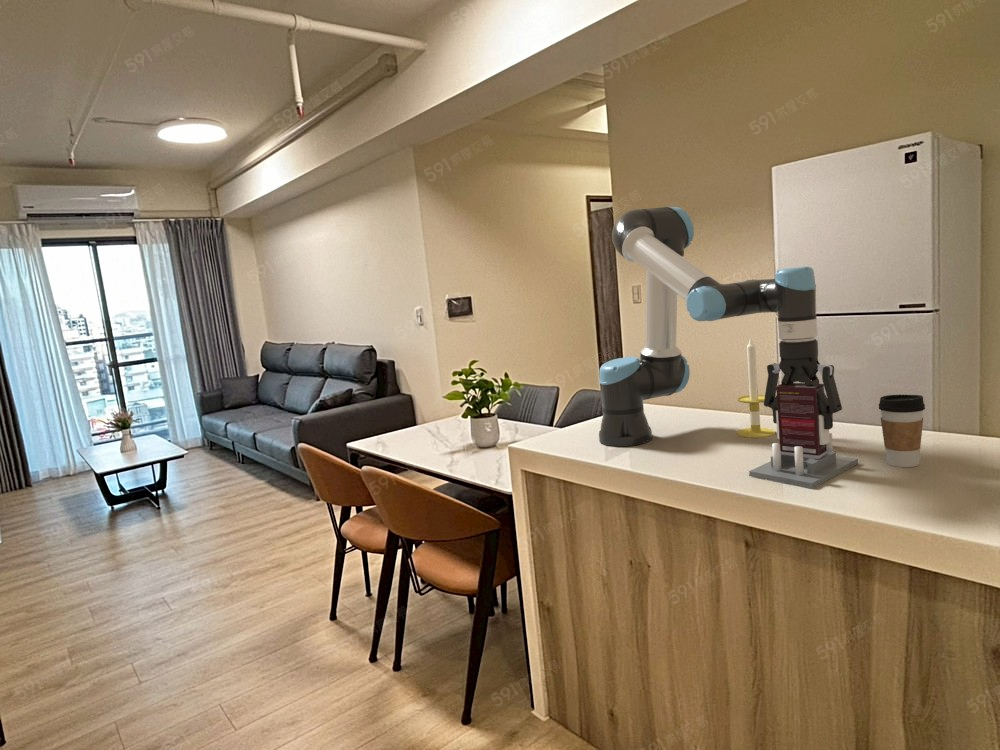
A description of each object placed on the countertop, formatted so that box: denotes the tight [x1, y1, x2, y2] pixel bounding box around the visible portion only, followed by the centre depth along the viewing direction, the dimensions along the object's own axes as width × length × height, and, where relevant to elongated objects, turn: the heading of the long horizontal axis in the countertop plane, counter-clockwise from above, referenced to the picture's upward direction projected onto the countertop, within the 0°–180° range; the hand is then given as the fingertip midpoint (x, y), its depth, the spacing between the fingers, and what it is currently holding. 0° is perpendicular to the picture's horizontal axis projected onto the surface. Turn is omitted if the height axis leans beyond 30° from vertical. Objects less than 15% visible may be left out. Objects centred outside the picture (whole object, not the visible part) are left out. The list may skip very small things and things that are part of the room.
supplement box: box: [776, 382, 827, 459], centre depth 135 cm, size 9×5×16 cm, turn 43°
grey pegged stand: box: [748, 432, 859, 490], centre depth 136 cm, size 14×20×7 cm
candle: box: [736, 336, 776, 439], centre depth 167 cm, size 10×10×27 cm
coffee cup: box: [878, 394, 926, 468], centre depth 132 cm, size 8×8×15 cm
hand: (802, 440), depth 135 cm, fingers closed on supplement box, 9 cm apart
